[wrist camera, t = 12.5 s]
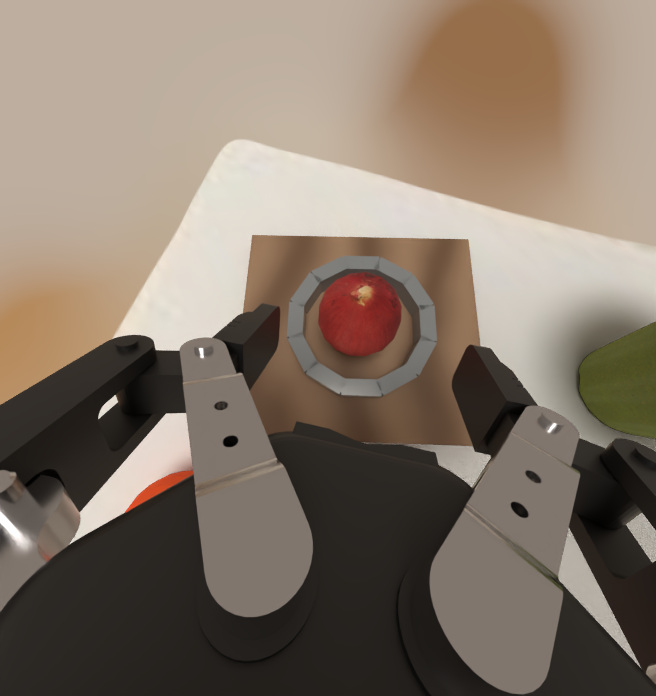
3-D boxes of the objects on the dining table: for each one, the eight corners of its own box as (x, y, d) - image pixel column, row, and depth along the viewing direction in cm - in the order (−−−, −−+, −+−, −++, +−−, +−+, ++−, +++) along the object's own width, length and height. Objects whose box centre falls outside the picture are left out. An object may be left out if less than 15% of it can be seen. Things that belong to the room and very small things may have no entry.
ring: (423, 270, 24) (431, 257, 22) (431, 400, 21) (441, 398, 19) (295, 267, 24) (292, 254, 23) (286, 395, 22) (282, 393, 20)
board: (460, 249, 26) (468, 239, 25) (481, 444, 22) (491, 446, 20) (256, 245, 27) (252, 235, 25) (234, 435, 22) (227, 437, 21)
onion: (338, 289, 24) (338, 228, 16) (400, 313, 23) (432, 261, 15) (310, 348, 23) (296, 313, 15) (375, 375, 22) (396, 354, 14)
